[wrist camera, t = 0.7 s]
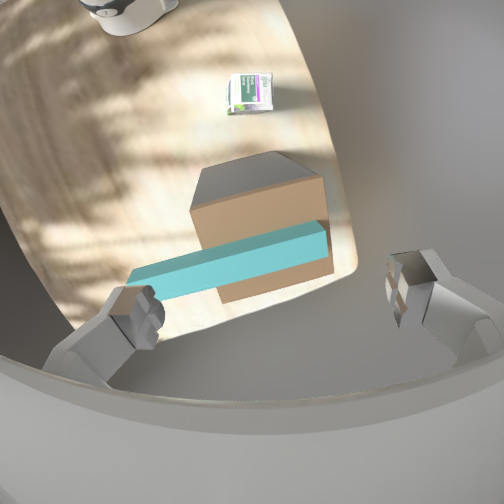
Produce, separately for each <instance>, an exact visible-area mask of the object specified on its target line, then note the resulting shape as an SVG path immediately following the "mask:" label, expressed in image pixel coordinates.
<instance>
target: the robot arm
mask: <svg viewBox="0 0 504 504" xmlns="http://www.w3.org/2000/svg"><path fill="white" fill-rule="evenodd" d="M6 1H8V0H0V4H2V3H4V2H6ZM79 2H80V3H81V5H82V6H84V7H85V8H86V9H88V10H89V11H90V15H91V16H92V17H93V18H95V19H97V20H98V21H99V23H100V25H101V26H102V28H103V29H104V30H105V31H106V32H107V33H109V34H112V35H117V36H124V35H130V34H134V33H137V32H139V31H142V30H144V29H145V28H147V27H149V26H150V25H152V24H153V23H154V22H155V21H156V20H157V19H159V18H160V17H161V16H162V15H163V14H165V13H167V12H169V11H171V10H173V9H175V8H176V7H177V6H178V2H179V0H172V1H170V0H79ZM387 265H388V267H389V270H390V272H389V273H388V275H387V276H386V293H387V297H388V301H389V303H390V304H391V305H392V306H394V313H393V314H394V317H395V320H396V323H397V325H398V328H399V329H403V328H408V327H414V326H418V325H422V326H423V327H424V328H425V329H426V330H427V331H428V332H429V333H430V334H432V335H433V336H434V337H435V338H436V339H437V340H438V341H439V342H440V343H442V344H443V345H444V346H445V347H446V348H447V349H448V350H449V351H450V352H451V353H452V354H453V355H454V356H456V357H457V359H456V361H455V363H454V364H453V366H452V368H451V369H450V370H447V371H443V372H440V373H437V374H434V375H430V376H427V377H423V378H420V379H416V380H412V381H408V382H404V383H400V384H395V385H391V386H386V387H381V388H376V389H371V390H365V391H360V392H353V393H348V394H340V395H333V396H325V397H315V398H305V399H293V400H274V401H210V400H193V399H180V398H169V397H161V396H153V395H145V394H138V393H132V392H126V391H121V390H115V389H112V388H111V387H110V386H108V385H107V384H106V382H107V381H108V380H109V379H110V377H111V376H112V375H113V374H114V373H115V372H116V371H117V370H118V369H119V367H120V366H121V365H122V364H123V363H124V362H125V361H126V360H127V359H128V358H129V356H131V354H132V353H133V352H134V351H135V349H154V347H155V344H156V342H157V339H158V337H159V334H158V332H157V331H158V330H159V329H160V328H161V327H162V326H163V324H164V321H165V311H164V307H163V305H162V303H161V302H160V301H159V300H158V299H156V298H155V294H156V292H155V291H154V289H153V287H152V286H150V285H134V286H121V287H116V288H114V290H113V291H112V293H111V294H110V296H109V297H108V299H107V301H106V302H105V304H104V305H103V307H102V309H101V310H100V312H99V314H98V315H97V316H94V317H92V318H91V319H90V320H88V321H87V322H86V323H85V324H83V325H82V326H81V327H79V328H78V329H77V330H76V331H74V332H73V333H72V334H71V335H69V336H68V337H67V338H65V339H64V340H63V341H62V342H61V343H59V344H58V345H57V346H55V347H54V349H53V350H52V352H51V354H50V356H49V357H48V360H47V361H46V363H45V365H44V367H43V368H42V370H38V369H35V368H32V367H29V366H26V365H23V364H21V363H18V362H16V361H13V360H10V359H8V358H6V357H3V356H1V355H0V504H504V305H503V304H501V303H500V302H498V301H497V300H495V299H493V298H492V297H490V296H488V295H486V294H485V293H483V292H481V291H480V290H478V289H476V288H475V287H473V286H471V285H469V284H468V283H466V282H464V281H462V280H460V279H459V278H457V277H455V278H452V276H451V275H450V273H449V272H448V270H447V269H446V268H445V266H444V264H443V263H442V261H441V260H440V259H439V257H438V256H437V254H436V253H435V252H434V250H433V249H432V248H424V249H419V250H416V251H410V252H404V253H397V254H391V255H389V258H388V264H387Z"/></svg>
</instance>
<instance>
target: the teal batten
mask: <svg viewBox="0 0 504 504" xmlns="http://www.w3.org/2000/svg"><path fill="white" fill-rule="evenodd" d="M325 257H328V247H327V238H326V230H325V229H324V228H323V227H322V226H321V225H320V224H319V223H318V222H317V221H316V220H313V221H310V222H306V223H302V224H298V225H294V226H290V227H286V228H283V229H279V230H275V231H271V232H268V233H264V234H260V235H256V236H252V237H249V238H245V239H241V240H238V241H234V242H230V243H227V244H223V245H219V246H216V247H212V248H208V249H205V250H201V251H197V252H194V253H190V254H187V255H183V256H179V257H176V258H172V259H169V260H165V261H162V262H158V263H154V264H151V265H147V266H144V267H140V268H137V269H133V271H132V273H131V275H130V277H129V279H128V281H127V283H126V285H127V286H134V285H150V286H152V287H153V289H154V291H155V292H156V294H155V298H156V299H158V300H159V301H162V300H167V299H171V298H175V297H179V296H183V295H187V294H191V293H195V292H199V291H203V290H207V289H211V288H215V287H218V286H222V285H226V284H230V283H234V282H238V281H241V280H245V279H249V278H253V277H256V276H260V275H264V274H268V273H271V272H275V271H279V270H282V269H286V268H289V267H293V266H297V265H300V264H304V263H307V262H311V261H314V260H318V259H321V258H325Z"/></svg>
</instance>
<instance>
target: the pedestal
mask: <svg viewBox="0 0 504 504" xmlns="http://www.w3.org/2000/svg"><path fill="white" fill-rule="evenodd" d="M189 212H190V215H191V218H192V221H193V224H194V226H195V229H196V232H197V235H198V238H199V241H200V244H201V247H202V249H203V250H205V249H208V248H212V247H216V246H219V245H223V244H227V243H230V242H234V241H238V240H241V239H245V238H249V237H252V236H256V235H260V234H264V233H268V232H271V231H275V230H279V229H283V228H286V227H290V226H294V225H298V224H302V223H306V222H310V221H313V220H316V221H317V222H318V223H319V224H320V225H321V226H322V227H323V228H324V229H325V230H326V238H327V247H328V257H325V258H321V259H318V260H314V261H311V262H307V263H304V264H300V265H297V266H293V267H289V268H286V269H282V270H279V271H275V272H271V273H268V274H264V275H260V276H256V277H253V278H249V279H245V280H241V281H238V282H234V283H230V284H226V285H222V286H218V287H216V288H217V291H218V293H219V296H220V299H221V301H222V304H225V303H228V302H232V301H236V300H240V299H244V298H248V297H252V296H255V295H259V294H263V293H267V292H270V291H274V290H278V289H281V288H285V287H288V286H292V285H296V284H299V283H303V282H306V281H309V280H313V279H316V278H320V277H323V276H326V275H330V274H333V273H334V266H333V255H332V245H331V235H330V226H329V218H328V210H327V203H326V196H325V189H324V182H323V177H322V176H320V175H318V174H316V173H314V172H313V171H311V170H309V169H307V168H305V167H304V166H302V165H300V164H298V163H296V162H294V161H292V160H290V159H288V158H287V157H285V156H283V155H281V154H279V153H277V152H275V151H270V152H266V153H261V154H257V155H253V156H249V157H245V158H241V159H237V160H233V161H229V162H225V163H222V164H218V165H215V166H211V167H208V168H204V169H202V171H201V174H200V177H199V180H198V184H197V187H196V190H195V194H194V197H193V201H192V204H191V208H190V211H189Z"/></svg>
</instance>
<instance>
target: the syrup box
mask: <svg viewBox="0 0 504 504" xmlns="http://www.w3.org/2000/svg"><path fill="white" fill-rule="evenodd" d="M226 97H227V115H241V114H258V113H262V112H266V111H271V110H273V75H272V73H240V74H232V76H231V78H230V81H229V83H228V85H227V91H226Z"/></svg>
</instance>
